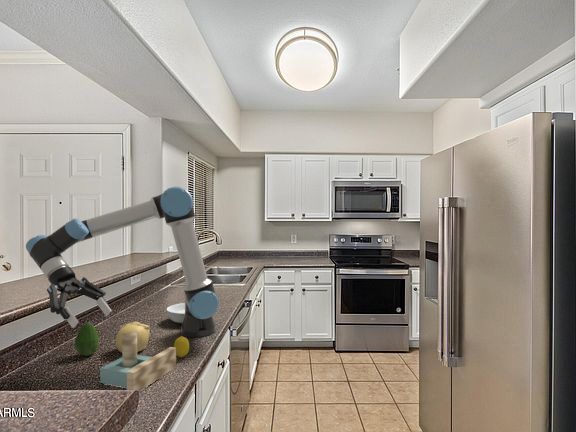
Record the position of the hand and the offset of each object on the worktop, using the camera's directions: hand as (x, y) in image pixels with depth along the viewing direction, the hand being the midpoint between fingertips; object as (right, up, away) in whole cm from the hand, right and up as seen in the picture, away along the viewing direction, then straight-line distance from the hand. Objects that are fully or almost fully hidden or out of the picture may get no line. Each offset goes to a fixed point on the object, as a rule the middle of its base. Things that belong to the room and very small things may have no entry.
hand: (93, 319), depth 120 cm
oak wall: (+23, -17, -8) cm, 30 cm away
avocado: (-9, -17, +13) cm, 24 cm away
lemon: (+27, -17, +10) cm, 34 cm away
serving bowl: (+17, -17, +54) cm, 60 cm away
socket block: (+15, -17, -6) cm, 24 cm away
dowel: (+15, -17, -6) cm, 24 cm away
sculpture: (+6, -17, +17) cm, 25 cm away
